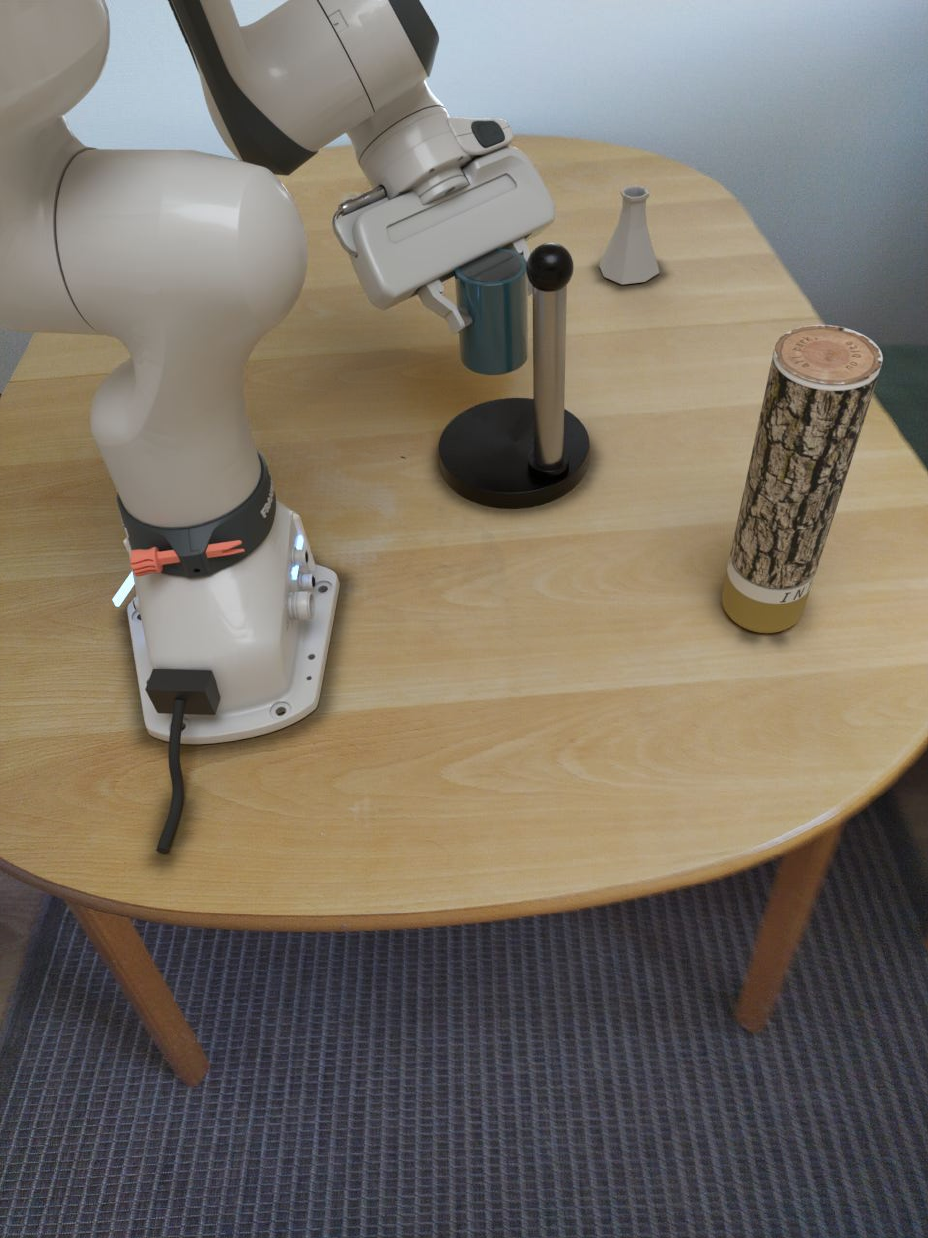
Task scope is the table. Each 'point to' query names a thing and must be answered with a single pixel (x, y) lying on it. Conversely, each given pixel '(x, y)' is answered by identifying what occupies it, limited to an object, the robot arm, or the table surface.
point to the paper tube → (797, 471)
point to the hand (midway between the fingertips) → (497, 311)
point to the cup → (494, 312)
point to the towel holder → (524, 414)
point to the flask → (630, 242)
